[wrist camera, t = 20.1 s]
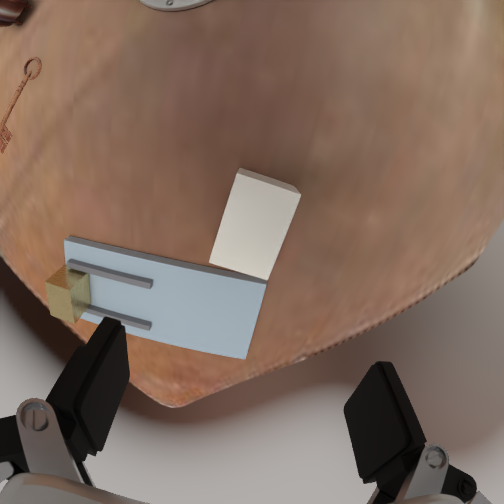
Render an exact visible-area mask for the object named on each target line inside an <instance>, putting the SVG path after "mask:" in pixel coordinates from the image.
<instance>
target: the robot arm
mask: <svg viewBox="0 0 504 504" xmlns="http://www.w3.org/2000/svg"><path fill="white" fill-rule="evenodd" d="M139 1H140V2H141V3H143V4H144V5H146V6H147V7H150V8H152V9H156V10H161V11H179V10H186V9H190V8H195V7H197V6H200V5H203V4H206V3H208V2H210V1H212V0H139ZM129 377H130V371H129V362H128V353H127V342H126V329H125V326H124V325H121V321H120V320H117V319H114V318H110V317H107V316H105V317H104V318H103V320H102V321H101V323H100V324H99V326H98V327H97V329H96V330H95V332H94V333H93V335H92V336H91V338H90V339H89V341H88V343H87V344H86V346H84V345H80V346H78V348H77V349H76V350H75V352H74V354H73V355H72V357H71V358H70V360H69V361H68V363H67V365H66V367H65V368H64V370H63V371H62V373H61V375H60V376H59V378H58V380H57V381H56V383H55V385H54V386H53V388H52V390H51V392H50V394H49V395H48V397H47V399H46V400H45V401H44V400H42V399H38V398H31V399H28V400H25V401H24V402H22V403H21V404H20V406H19V407H18V409H17V413H16V415H13V416H9V417H5V418H0V482H2V481H3V480H5V479H7V480H9V481H8V482H7V483H6V485H5V486H4V488H3V490H2V491H1V493H0V504H149V503H145V502H141V501H137V500H133V499H130V498H126V497H123V496H120V495H116V494H114V493H110V492H108V491H105V490H101V489H98V488H96V487H95V485H94V483H93V481H92V479H91V477H90V475H89V473H88V470H87V468H86V466H85V464H84V462H83V461H85V459H86V457H87V454H91V455H93V456H96V454H97V451H102V450H103V447H104V445H105V442H106V439H107V436H108V433H109V431H110V428H111V425H112V422H113V420H114V417H115V414H116V412H117V409H118V406H119V404H120V401H121V399H122V396H123V394H124V391H125V389H126V386H127V384H128V381H129ZM344 415H345V419H346V423H347V427H348V431H349V435H350V438H351V442H352V447H353V451H354V455H355V460H356V464H357V468H358V473H359V476H360V478H362V479H363V483H364V484H366V483H372V482H375V481H376V483H377V487H376V489H375V491H374V492H373V494H372V496H371V498H370V500H369V501H368V503H367V504H491V502H490V501H488V500H487V498H486V497H484V495H483V494H481V492H480V491H478V492H476V490H477V487H476V482H475V480H474V479H473V477H471V476H470V475H468V474H466V473H464V472H463V471H461V470H459V469H457V468H455V467H453V466H452V465H450V464H449V455H448V453H447V451H446V449H445V448H444V447H442V446H441V445H439V444H437V443H431V444H428V445H427V446H426V447H425V444H424V443H425V442H427V441H426V438H425V436H424V433H423V431H422V428H421V426H420V424H419V421H418V419H417V416H416V414H415V412H414V409H413V407H412V405H411V403H410V400H409V398H408V396H407V394H406V391H405V389H404V387H403V385H402V383H401V381H400V378H399V376H398V375H397V372H396V370H395V368H394V366H393V364H392V363H391V362H382V361H378V362H376V363H375V364H374V365H372V366H371V367H370V369H369V370H368V372H367V373H366V375H365V376H364V378H363V379H362V381H361V382H360V384H359V385H358V387H357V388H356V390H355V391H354V393H353V394H352V396H351V397H350V398H349V399H348V401H347V402H346V404H345V406H344Z"/></svg>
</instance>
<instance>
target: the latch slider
mask: <svg viewBox="0 0 504 504" xmlns="http://www.w3.org/2000/svg"><path fill="white" fill-rule="evenodd" d="M45 286H46V292H47V298H48V303H49V308H50V313H51V315H52V316H55V317H57V318H60V319H62V320H65V321H68V322H70V323H73V324H75V323H76V322H77V321H78V319H79V318H80V317H81V316H82V314H83V313H84V312H85V311H86V309H87V308H88V307H89V306H90V305H91V298H90V286H89V273H86V272H82V271H79V270H75V269H72V268H68V267H67V265H64V266H63V267H62V268H60V269H59V270H58V271H57V272H56V273H54V274H53V275H52V276H51V277H50V278H49V279H48V280H46V281H45Z"/></svg>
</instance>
